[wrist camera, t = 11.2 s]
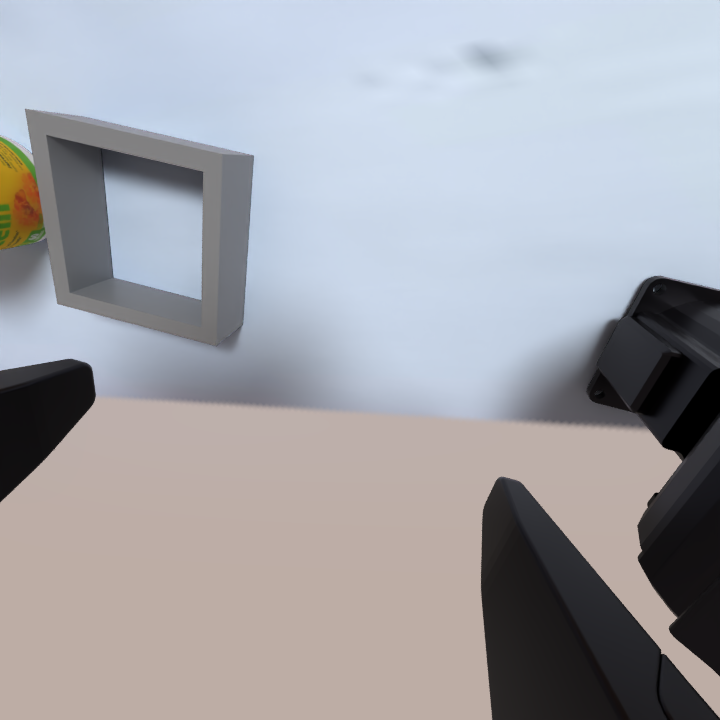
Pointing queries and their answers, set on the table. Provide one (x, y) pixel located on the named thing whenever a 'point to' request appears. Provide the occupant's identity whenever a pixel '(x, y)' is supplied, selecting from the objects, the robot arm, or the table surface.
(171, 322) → the frame
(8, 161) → the supplement bottle
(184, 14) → the table surface
